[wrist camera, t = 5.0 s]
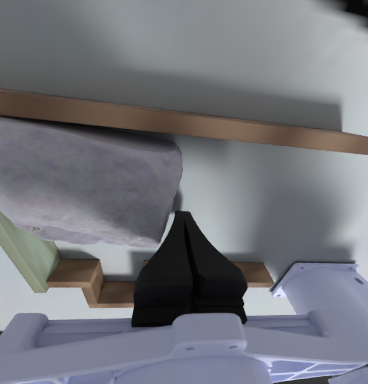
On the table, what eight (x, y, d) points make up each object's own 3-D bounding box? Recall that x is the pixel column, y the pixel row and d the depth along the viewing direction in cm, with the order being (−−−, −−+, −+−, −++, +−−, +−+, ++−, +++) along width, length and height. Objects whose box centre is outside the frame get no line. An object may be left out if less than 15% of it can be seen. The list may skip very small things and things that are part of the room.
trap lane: (342, 131, 12) (390, 141, 9) (249, 286, 23) (258, 310, 20) (-37, 84, 9) (-120, 78, 6) (65, 285, 20) (49, 313, 17)
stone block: (169, 217, 18) (188, 131, 11) (165, 260, 14) (188, 169, 7) (57, 202, 16) (0, 92, 10) (20, 245, 13) (-112, 117, 6)
